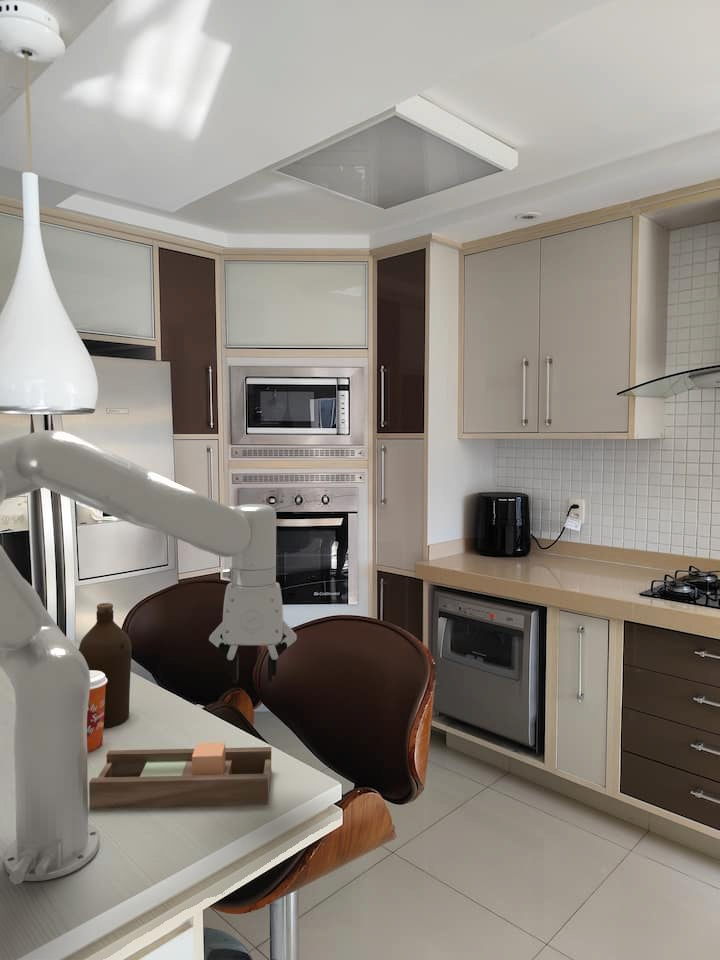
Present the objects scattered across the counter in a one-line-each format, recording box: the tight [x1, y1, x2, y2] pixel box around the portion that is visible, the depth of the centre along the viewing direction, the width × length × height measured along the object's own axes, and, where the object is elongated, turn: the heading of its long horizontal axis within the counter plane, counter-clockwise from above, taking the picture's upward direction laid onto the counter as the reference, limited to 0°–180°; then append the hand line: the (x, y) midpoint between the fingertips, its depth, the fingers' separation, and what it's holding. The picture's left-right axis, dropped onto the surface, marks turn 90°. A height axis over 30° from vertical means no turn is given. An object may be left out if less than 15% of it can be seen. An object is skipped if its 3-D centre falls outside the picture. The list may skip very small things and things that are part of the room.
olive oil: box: [78, 602, 133, 729], centre depth 141 cm, size 11×11×25 cm
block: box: [192, 741, 226, 775], centre depth 115 cm, size 5×5×4 cm
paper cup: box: [87, 670, 107, 753], centre depth 130 cm, size 8×8×14 cm
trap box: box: [88, 746, 272, 810], centre depth 115 cm, size 11×29×4 cm, turn 95°
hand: (253, 678), depth 115 cm, fingers open, 5 cm apart
